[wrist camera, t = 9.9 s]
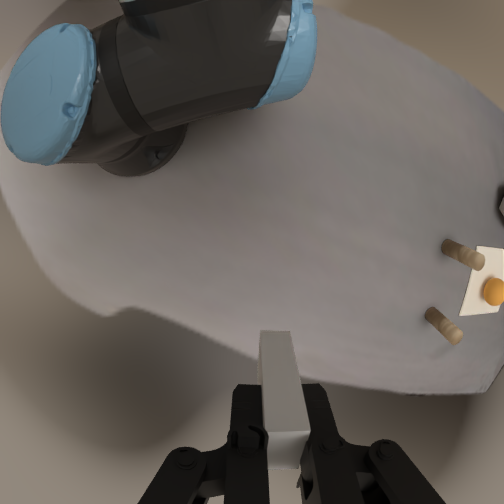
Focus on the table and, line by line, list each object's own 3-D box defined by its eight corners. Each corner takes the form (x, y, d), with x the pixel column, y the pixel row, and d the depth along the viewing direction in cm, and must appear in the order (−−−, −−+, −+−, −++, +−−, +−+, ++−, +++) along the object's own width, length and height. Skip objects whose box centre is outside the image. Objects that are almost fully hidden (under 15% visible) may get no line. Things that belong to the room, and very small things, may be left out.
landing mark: (476, 245, 40) (477, 245, 40) (513, 250, 40) (514, 250, 40) (458, 315, 43) (459, 315, 43) (497, 311, 44) (497, 311, 43)
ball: (492, 273, 42) (483, 275, 40) (512, 281, 37) (506, 284, 35) (485, 298, 43) (476, 302, 41) (505, 307, 39) (497, 312, 36)
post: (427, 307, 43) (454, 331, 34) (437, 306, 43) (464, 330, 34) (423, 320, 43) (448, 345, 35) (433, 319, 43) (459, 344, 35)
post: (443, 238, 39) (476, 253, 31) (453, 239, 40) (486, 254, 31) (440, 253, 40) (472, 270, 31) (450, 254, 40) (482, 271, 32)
